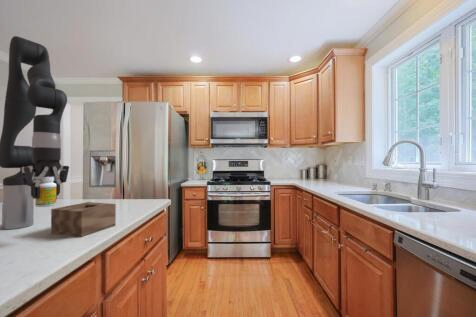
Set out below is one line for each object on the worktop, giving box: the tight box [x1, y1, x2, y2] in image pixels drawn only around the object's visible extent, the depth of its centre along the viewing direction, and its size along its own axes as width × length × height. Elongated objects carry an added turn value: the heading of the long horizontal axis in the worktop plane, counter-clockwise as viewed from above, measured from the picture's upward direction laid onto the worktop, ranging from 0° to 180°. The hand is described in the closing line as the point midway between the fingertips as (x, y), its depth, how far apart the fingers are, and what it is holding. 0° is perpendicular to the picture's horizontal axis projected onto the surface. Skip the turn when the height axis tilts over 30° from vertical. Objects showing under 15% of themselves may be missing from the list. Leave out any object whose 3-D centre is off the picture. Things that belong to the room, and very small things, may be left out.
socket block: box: [50, 201, 117, 238], centre depth 91 cm, size 15×15×9 cm
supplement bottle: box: [34, 176, 57, 208], centre depth 78 cm, size 5×5×10 cm
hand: (46, 196), depth 78 cm, fingers closed on supplement bottle, 5 cm apart
